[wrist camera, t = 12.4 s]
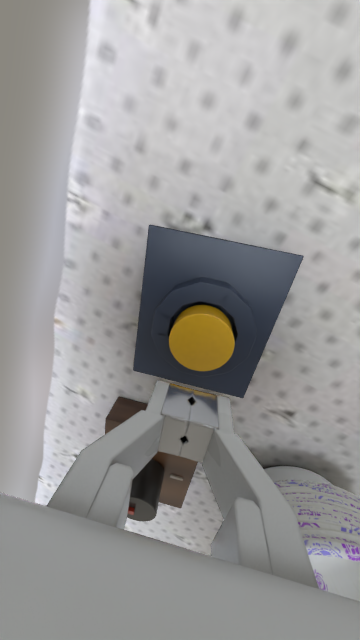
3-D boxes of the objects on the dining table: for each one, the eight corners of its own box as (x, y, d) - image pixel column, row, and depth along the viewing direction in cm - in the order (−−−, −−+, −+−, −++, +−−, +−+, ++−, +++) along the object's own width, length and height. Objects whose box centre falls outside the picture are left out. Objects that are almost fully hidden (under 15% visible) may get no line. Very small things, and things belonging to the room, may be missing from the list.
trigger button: (222, 362, 14) (224, 378, 12) (169, 349, 14) (164, 363, 13) (239, 312, 12) (244, 322, 11) (179, 298, 13) (174, 306, 11)
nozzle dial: (165, 461, 20) (156, 507, 17) (163, 483, 22) (154, 529, 18) (129, 453, 20) (112, 496, 17) (129, 475, 22) (114, 519, 18)
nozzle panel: (183, 480, 26) (180, 510, 23) (113, 460, 26) (101, 487, 24) (204, 419, 21) (204, 447, 18) (118, 396, 22) (104, 420, 19)
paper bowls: (368, 449, 19) (463, 573, 12) (346, 529, 25) (403, 649, 17) (216, 444, 22) (219, 542, 15) (226, 517, 28) (232, 615, 20)
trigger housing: (239, 381, 19) (246, 416, 15) (141, 357, 19) (124, 384, 16) (290, 254, 14) (319, 258, 10) (157, 226, 14) (139, 221, 11)
